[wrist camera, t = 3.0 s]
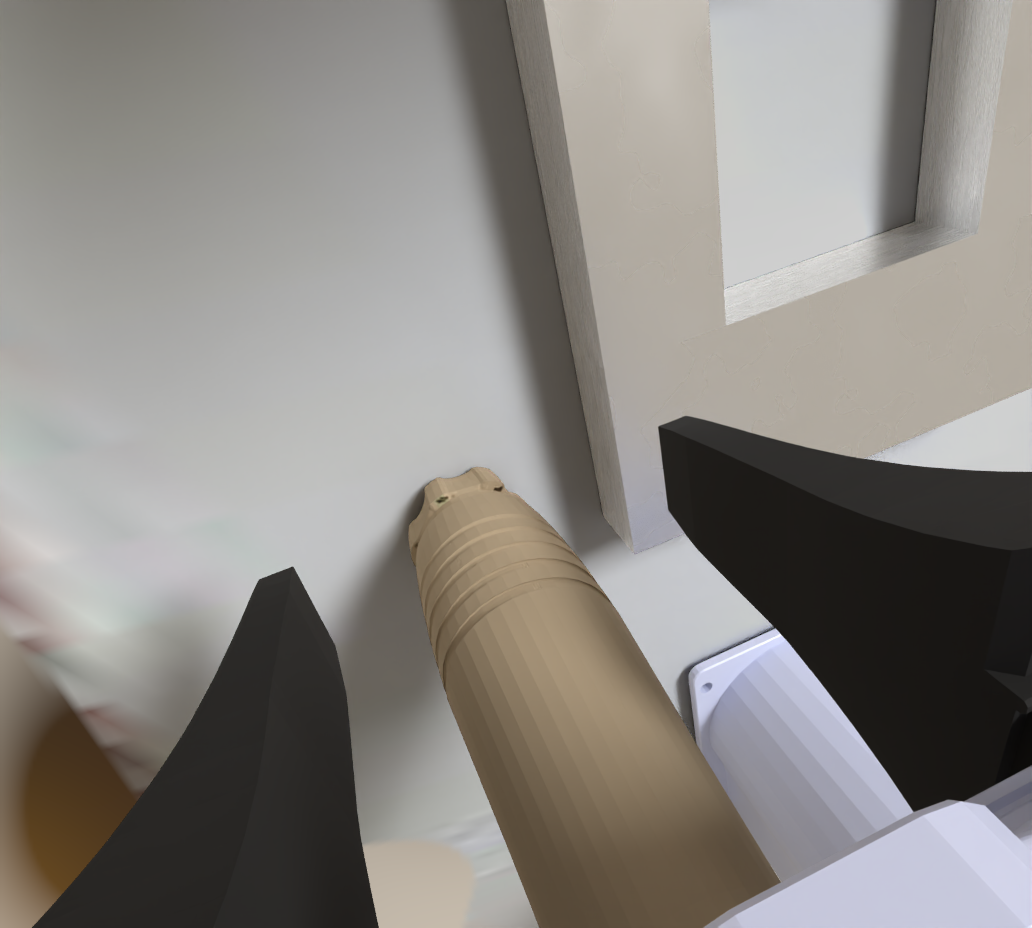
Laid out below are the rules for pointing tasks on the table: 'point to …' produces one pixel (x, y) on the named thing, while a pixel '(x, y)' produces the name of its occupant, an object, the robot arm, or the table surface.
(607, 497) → the rack plate
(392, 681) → the table surface
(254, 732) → the robot arm
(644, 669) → the handle
